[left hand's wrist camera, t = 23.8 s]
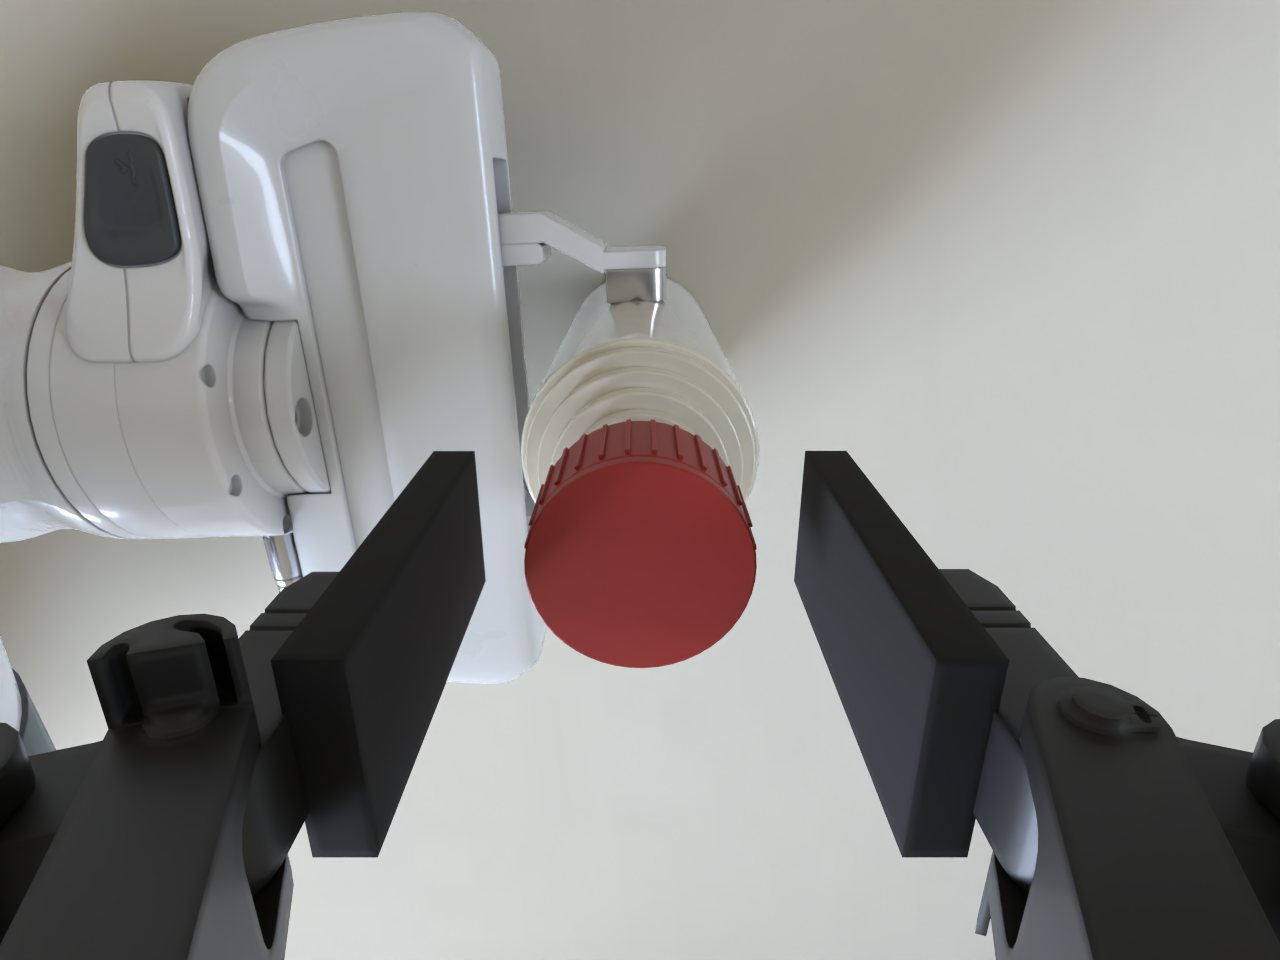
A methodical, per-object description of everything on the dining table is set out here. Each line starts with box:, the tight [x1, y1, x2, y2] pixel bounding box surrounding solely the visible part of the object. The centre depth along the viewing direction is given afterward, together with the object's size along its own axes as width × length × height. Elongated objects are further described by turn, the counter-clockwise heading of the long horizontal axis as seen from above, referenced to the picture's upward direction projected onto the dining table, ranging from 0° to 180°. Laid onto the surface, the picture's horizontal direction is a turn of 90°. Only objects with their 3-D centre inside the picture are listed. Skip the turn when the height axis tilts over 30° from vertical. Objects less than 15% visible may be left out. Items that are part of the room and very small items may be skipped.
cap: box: [524, 419, 756, 668], centre depth 13 cm, size 4×4×2 cm
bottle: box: [521, 278, 760, 503], centre depth 21 cm, size 6×6×18 cm
